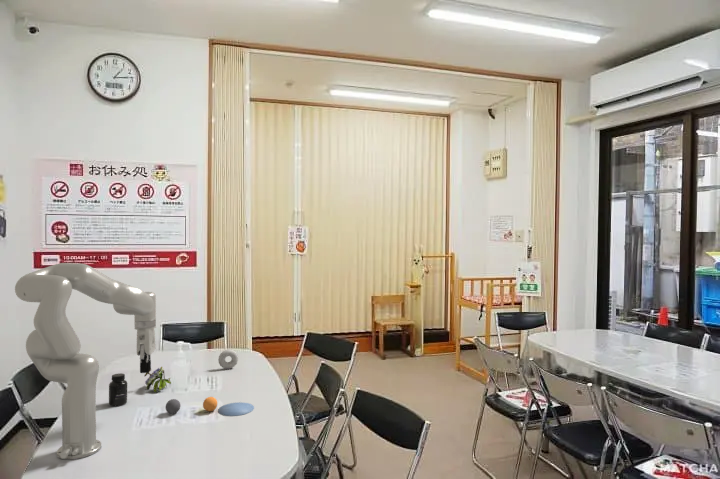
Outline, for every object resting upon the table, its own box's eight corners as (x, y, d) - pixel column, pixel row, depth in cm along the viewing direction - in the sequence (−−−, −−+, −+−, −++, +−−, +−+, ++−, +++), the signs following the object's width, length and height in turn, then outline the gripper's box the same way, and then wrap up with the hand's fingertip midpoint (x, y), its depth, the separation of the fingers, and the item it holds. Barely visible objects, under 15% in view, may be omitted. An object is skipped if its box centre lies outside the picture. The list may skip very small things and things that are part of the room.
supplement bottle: (119, 407, 196) (119, 378, 196) (105, 406, 198) (104, 376, 197) (131, 401, 203) (130, 373, 203) (116, 400, 204) (116, 371, 204)
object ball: (216, 413, 191) (216, 399, 191) (202, 414, 190) (202, 400, 190) (218, 407, 196) (218, 394, 196) (203, 408, 195) (203, 395, 195)
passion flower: (148, 401, 219) (144, 375, 224) (174, 393, 223) (169, 368, 228) (145, 393, 210) (141, 367, 215) (172, 386, 214) (167, 360, 219)
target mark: (253, 414, 190) (253, 414, 190) (216, 417, 187) (216, 416, 187) (254, 401, 203) (254, 401, 203) (219, 404, 201) (219, 403, 201)
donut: (218, 370, 247) (218, 351, 247) (218, 368, 250) (217, 349, 250) (238, 368, 251) (238, 349, 251) (237, 366, 254) (237, 347, 254)
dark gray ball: (179, 415, 188) (179, 401, 188) (164, 416, 187) (164, 402, 187) (181, 410, 194) (181, 396, 193) (166, 411, 193) (166, 397, 192)
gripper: (150, 328, 180) (151, 377, 181) (159, 320, 196) (160, 365, 196) (129, 328, 179) (129, 378, 179) (139, 320, 195) (140, 366, 195)
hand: (145, 371), depth 188 cm, fingers closed
